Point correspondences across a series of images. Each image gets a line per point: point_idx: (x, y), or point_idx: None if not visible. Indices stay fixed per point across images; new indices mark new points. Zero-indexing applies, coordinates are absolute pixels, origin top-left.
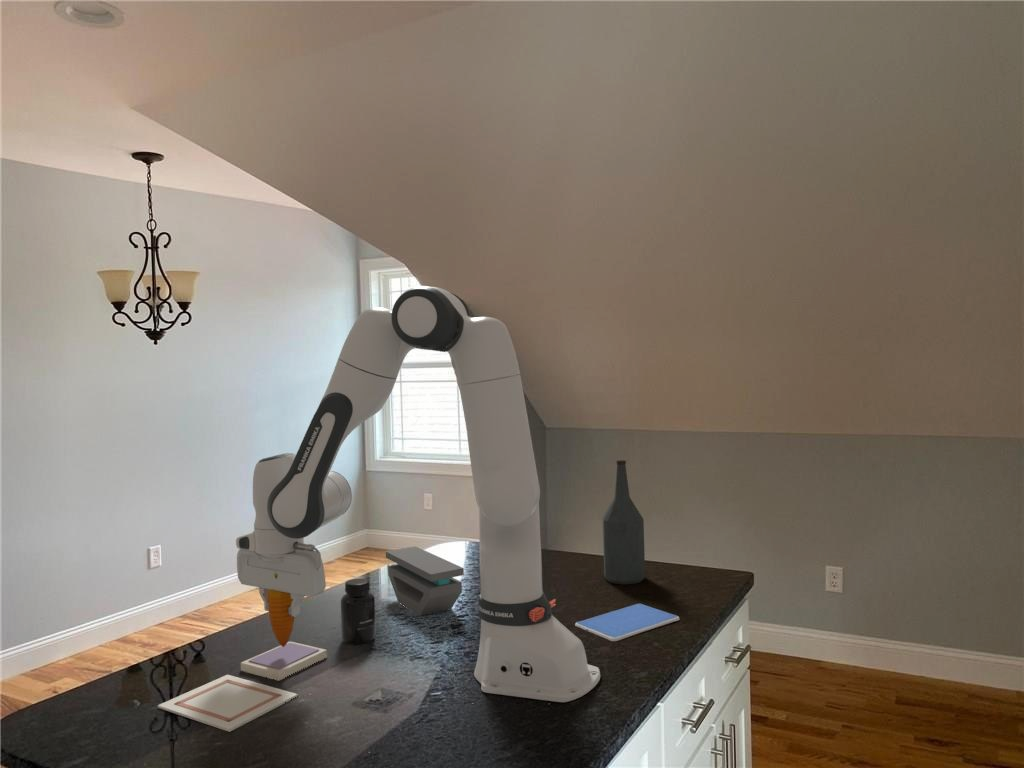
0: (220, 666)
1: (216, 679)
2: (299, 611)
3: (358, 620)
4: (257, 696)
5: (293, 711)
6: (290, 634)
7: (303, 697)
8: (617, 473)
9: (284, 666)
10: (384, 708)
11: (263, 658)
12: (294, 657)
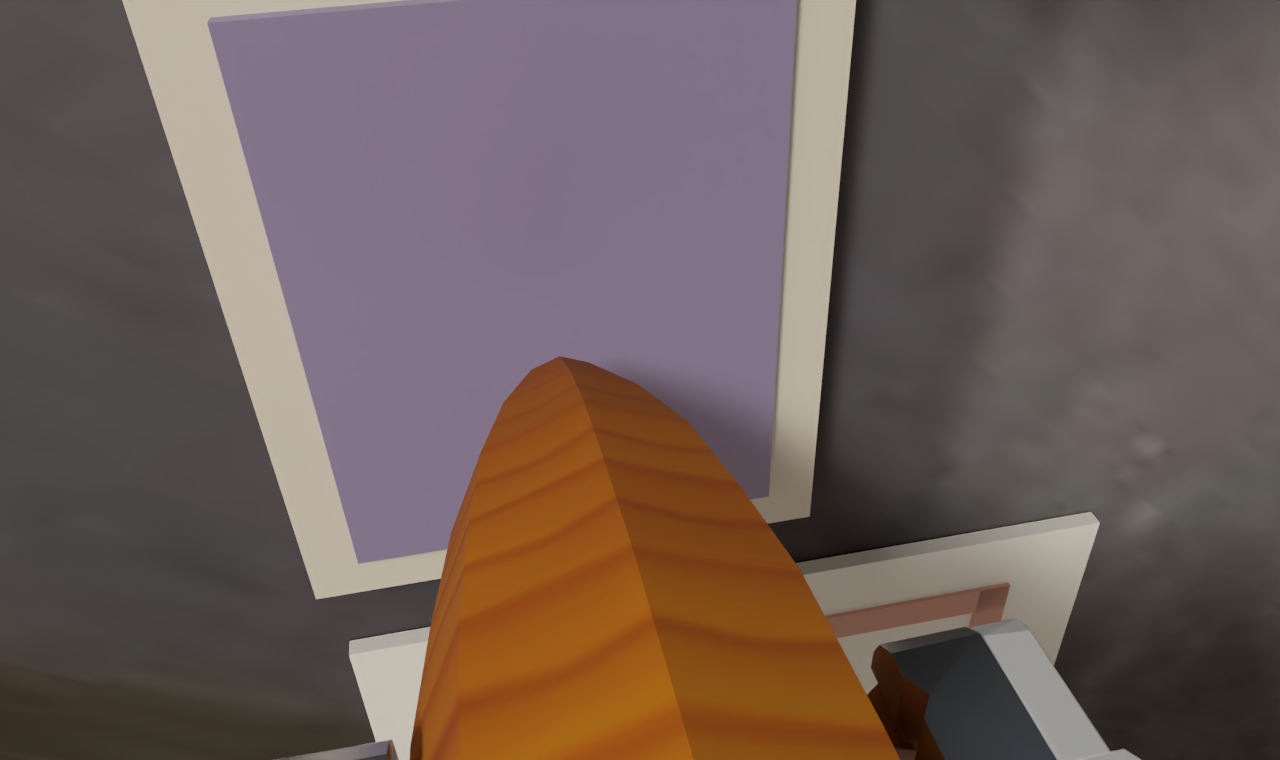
0: (52, 600)
1: (370, 721)
2: (1035, 657)
3: None
4: (870, 664)
5: (1173, 603)
6: (655, 399)
7: (1133, 496)
8: None
9: (770, 439)
10: None
11: (440, 472)
12: (711, 292)
